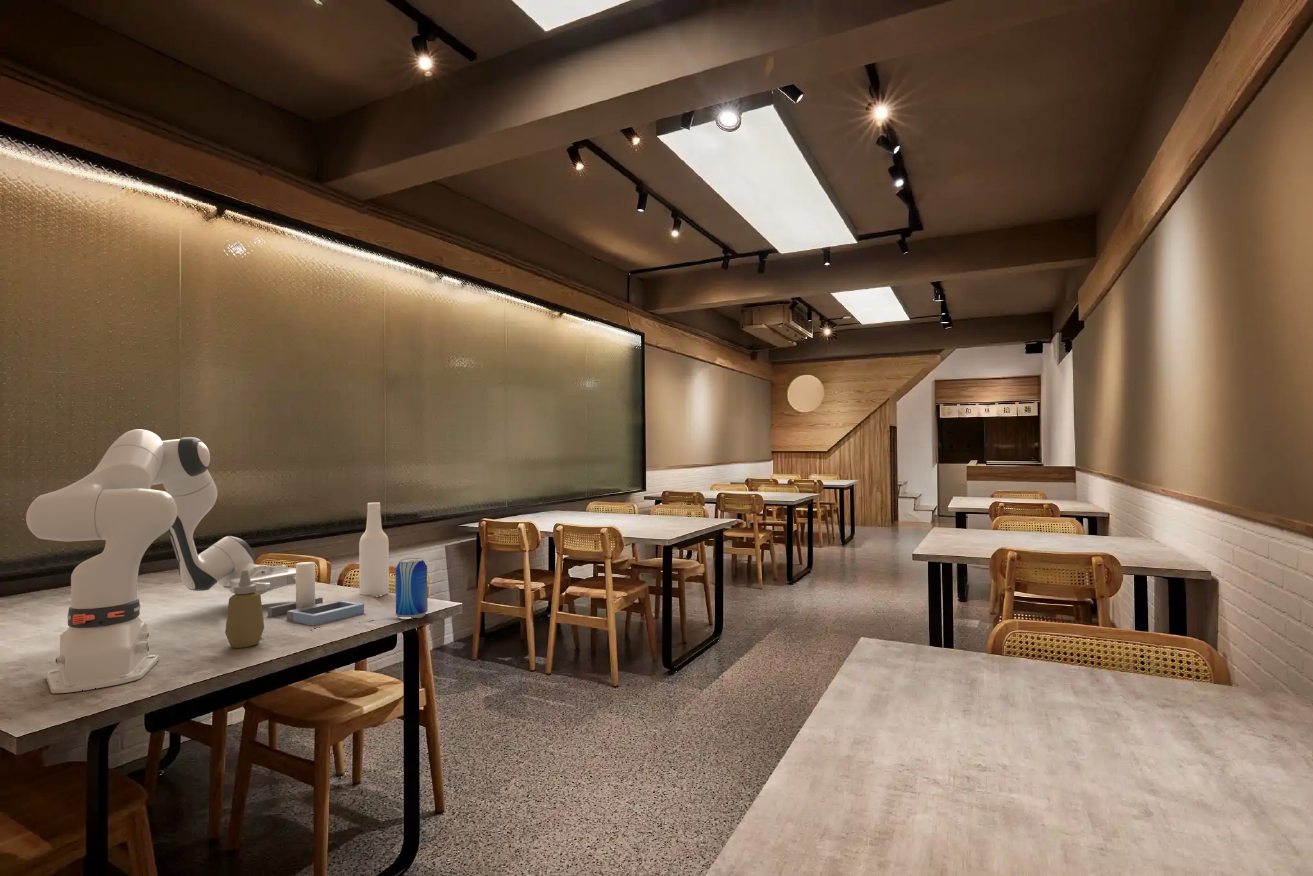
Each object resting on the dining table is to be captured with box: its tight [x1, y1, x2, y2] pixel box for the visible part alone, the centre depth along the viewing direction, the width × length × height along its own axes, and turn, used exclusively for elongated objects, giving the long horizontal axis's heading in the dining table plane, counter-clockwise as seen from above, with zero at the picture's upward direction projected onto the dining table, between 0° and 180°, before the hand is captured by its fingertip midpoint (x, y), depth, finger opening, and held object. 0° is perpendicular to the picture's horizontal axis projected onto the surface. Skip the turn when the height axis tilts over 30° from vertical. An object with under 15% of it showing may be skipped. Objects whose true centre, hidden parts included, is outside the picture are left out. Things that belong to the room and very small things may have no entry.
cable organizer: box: [266, 596, 366, 630], centre depth 185 cm, size 22×15×4 cm
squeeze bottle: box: [224, 570, 265, 649], centre depth 160 cm, size 8×8×18 cm
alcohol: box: [358, 501, 390, 598], centre depth 214 cm, size 9×9×30 cm
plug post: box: [295, 561, 316, 609], centre depth 187 cm, size 5×5×14 cm
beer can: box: [394, 557, 429, 619], centre depth 185 cm, size 8×8×16 cm
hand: (283, 583), depth 192 cm, fingers open, 8 cm apart
